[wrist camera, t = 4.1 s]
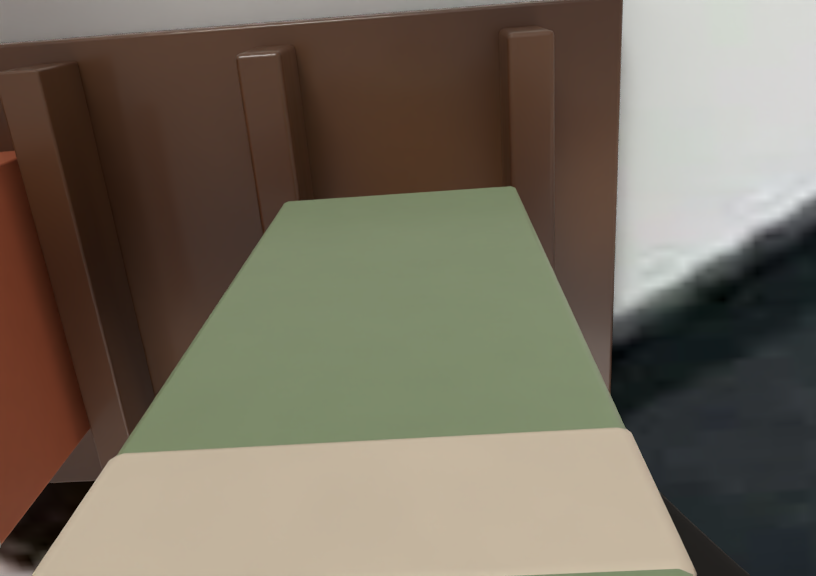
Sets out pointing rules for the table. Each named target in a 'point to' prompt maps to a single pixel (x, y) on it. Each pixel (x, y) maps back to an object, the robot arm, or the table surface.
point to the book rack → (295, 161)
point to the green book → (381, 416)
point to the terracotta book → (30, 361)
